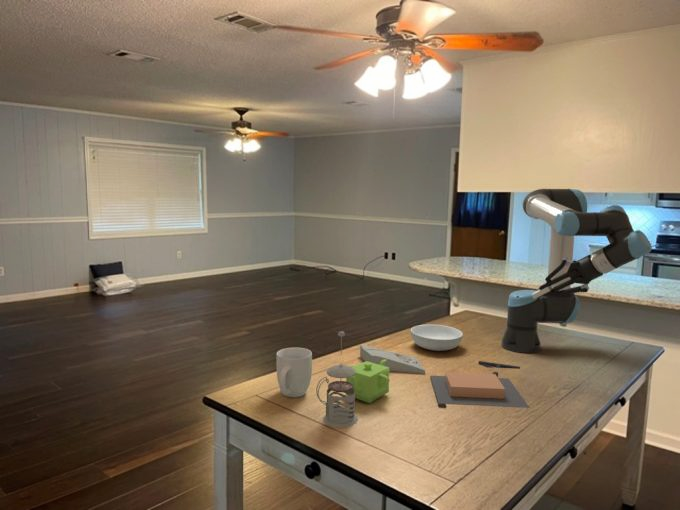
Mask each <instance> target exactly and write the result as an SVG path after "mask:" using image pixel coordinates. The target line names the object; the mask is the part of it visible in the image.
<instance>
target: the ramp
mask: <svg viewBox="0 0 680 510" xmlns="http://www.w3.org/2000/svg"><path fill="white" fill-rule="evenodd" d="M359 348H360V349H359V352H360V353H359V357H360V356H361V357H360V358H361V359H362V361H363V360H364V361H368V362H371V363H375V364H380V362H381V361H382V360H384V359H386V362H385V364H384V366H386V367H389V372H391V371H392V372H398V373H400V372H401V373H410V374H419V375H420V374H422V375H423V374H424V375H425V374H426V369H425V368H424V366H423V364H422V363H421V362H420V361H419V359H418V358H416V357H413V356H411V355H407V354H401V353H398V352H394V351H391V350H390V351H388V350H384V349H379V348H377V347H374V346H370V345H368V344H367V345H366V344H360V346H359ZM364 361H363V362H364Z"/></svg>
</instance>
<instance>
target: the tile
mask: <svg viewBox="0 0 680 510" xmlns="http://www.w3.org/2000/svg"><path fill="white" fill-rule="evenodd" d="M444 373H445V375H444V376H445V382H446V385H447V388H448V390H449V393H450V396H452V397H475V398H498V399H503V398H505V388H504V387H503V385H502V384H501V382H500V381H499V379H498V378H499V377H498V375H497V376H496V375H495V374H493V373H477V372H475V373H473V372H448V371H446V372H444Z"/></svg>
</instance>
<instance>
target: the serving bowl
mask: <svg viewBox="0 0 680 510" xmlns="http://www.w3.org/2000/svg"><path fill="white" fill-rule="evenodd" d="M410 335H411V336H410V337H411V339H412V341H413V342H414V344H416V345H417V346H419V347H421V348H423V349H426V350H428V351H429V350H430V351H434V352H435V351H436V352H441V351H442V352H443V351H449V350H453V349H455V348H457V347H458V346H459V345H460V344H461V342H462V340H463V337H464V332H462V331H461V330H460V329H458V328H455V327H452V326H449V325H442V324H428V323H427V324H421V325H418V324H417V325H415V326H413V327H411V329H410Z"/></svg>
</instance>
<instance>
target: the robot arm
mask: <svg viewBox="0 0 680 510" xmlns="http://www.w3.org/2000/svg"><path fill="white" fill-rule="evenodd" d="M522 211H524V214H526V215H527V216H528V217H530V218H532V219H534V220H541V221H543V222H545V223H547V224H548V225H549V226H550V227H551V228H550V240H549V241H550V242H549V255H548V256H549V257H548V269H547V270H548V271H547V276H546V277H545V278H544V280H545V281H546V282H545V283H543V284H541V285H539V287H538V290H534V289H520V290H515V291H512V292H511V293H510V294H509V296H508V302H507V315H506V316H507V317H506V318H507V319H506V328H505V330H504V333H503V335H502V338H501V347H502V348H503V349H506V350H508V351H512V352H517V353H522V354H523V353H524V354H525V353H526V354H529V353H531V354H532V353H533V354H534V353H537V352H540V351H541V350H542V349H541V347H542V343H541V340H540V337H539V333H538V324H539V323H540V324H559V325H562V324H563V325H564V324H571V323H573V322H575V320H577V317H578V316H579V313H580V308H581V306H580V305H581V304H580V299H579V297H578V295H576V294H577V293H587V292H589V289H590V287H589V284H590V282H592V281H593V280H596V279H599V278H600V277H602V276H603V275H604V274H605V275H607V274H608V273H610V272H612V271H614V270H617V269H618V268H620V267H622V266H624V265H627V264H628V263H631V262H633V261H635V260H639V259H641V258H642V257H643V256H645V255H647V254H649V253H650V252H651V251H652V244H651V242H650V240H649V239H648V237H647V235H646V234H645V233H644V232H643V231H641V230H640V229H639V230H638V229H637V230H634V228H633V226H632V223H631V221H630V218H629V215H628V214H627V213H626V211H625V209H624V208H623V207H622V206H621V205H617V204H612V205H610V206H605V207H603V208H602V209H601V210H600V211H599V212H597V211H596V212H595V211H592V212H588V200H587V198H586V196H585V194H584V193H583V191H581V190H579V189H577V188H576V189H575V188H574V189H573V188H538V189H535V190H532V191H530V193H528V194H527V195H526V196H525V197H524V198H523V202H522ZM575 237H606V239H607V241H608V242H609V244H607V245H605V246H603V247H602V248H599V249H598V250H596V251H593V252H592V253H591V254H587V255H585V256H584V257H582V258H579V259H578V260H573V258H574V246H575ZM573 284H579V285H578V286H574V287H572V285H573Z"/></svg>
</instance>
